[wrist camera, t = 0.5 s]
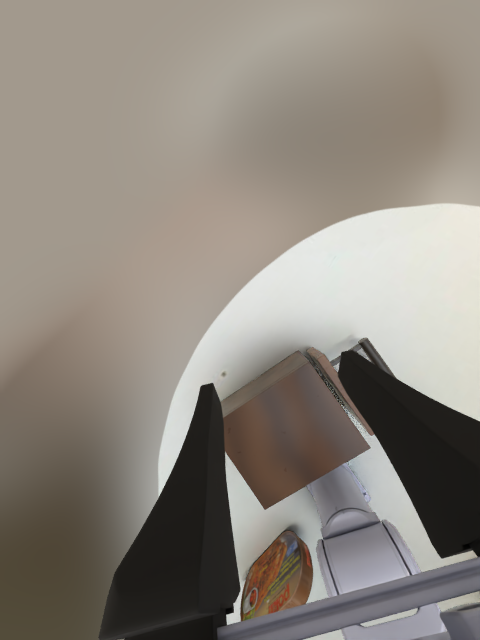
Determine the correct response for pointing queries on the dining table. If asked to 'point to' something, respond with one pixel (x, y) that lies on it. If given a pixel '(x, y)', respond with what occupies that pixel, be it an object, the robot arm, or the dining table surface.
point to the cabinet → (287, 430)
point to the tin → (278, 578)
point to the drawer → (334, 381)
